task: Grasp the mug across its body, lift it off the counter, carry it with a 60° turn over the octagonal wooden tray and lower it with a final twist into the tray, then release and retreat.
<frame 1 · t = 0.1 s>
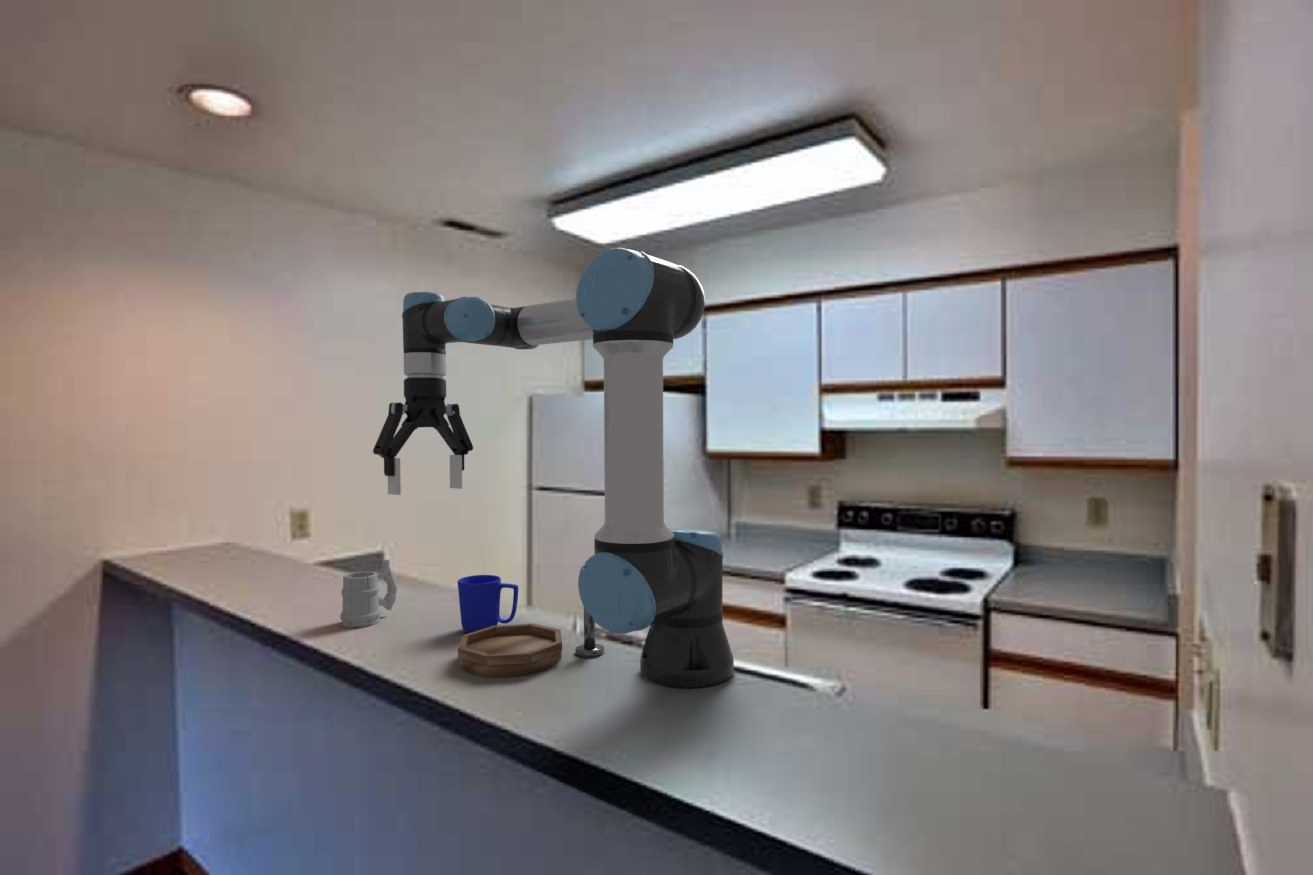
hand: (426, 491, 129), 28 cm above the countertop, fingers open, 13 cm apart
mug 2: (370, 621, 142), on the countertop
stand rod: (589, 652, 121), on the countertop
octagonal wooden tray: (511, 658, 118), on the countertop
mug: (489, 631, 135), on the countertop
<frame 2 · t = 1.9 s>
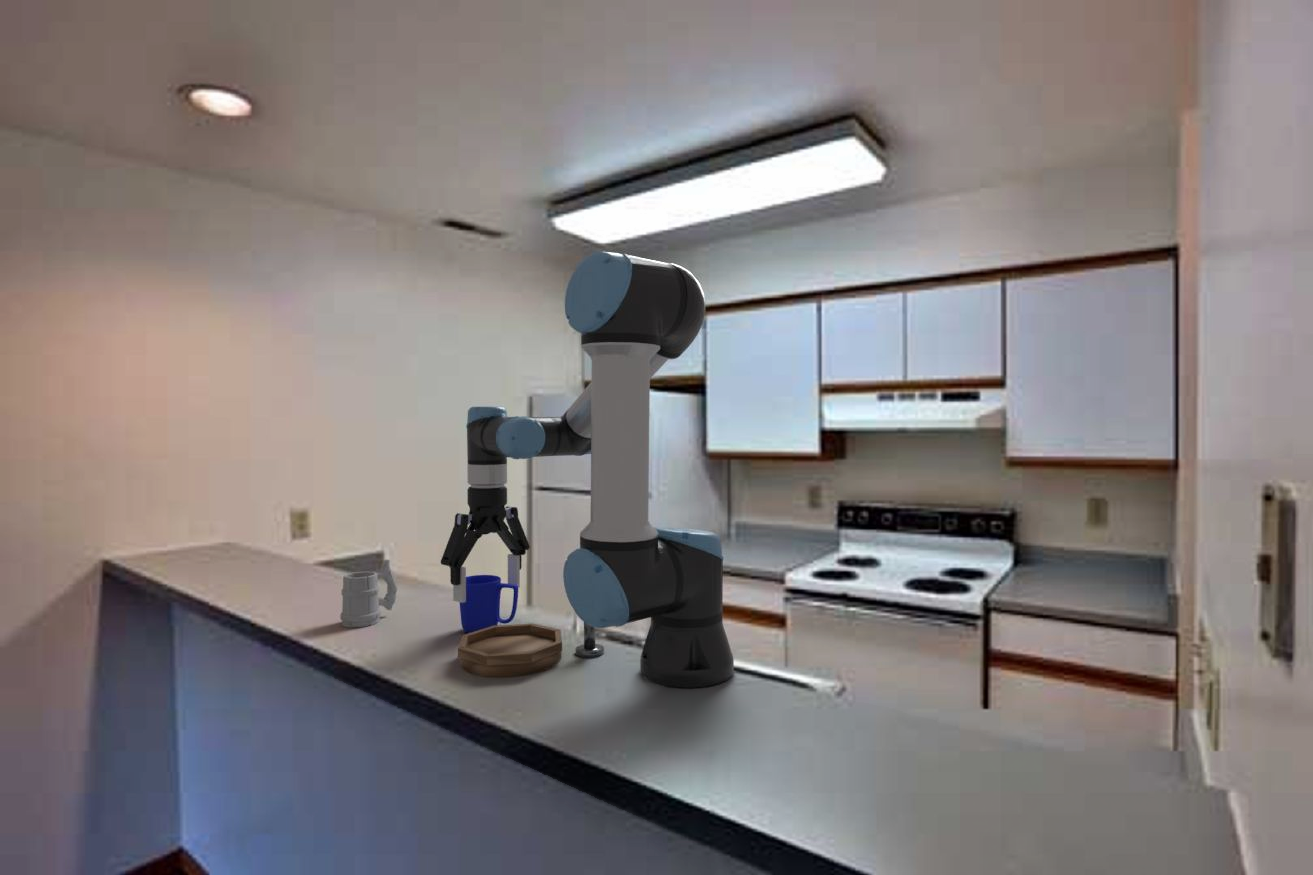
hand: (487, 593, 135), 7 cm above the countertop, fingers open, 13 cm apart
nothing on the countertop moved.
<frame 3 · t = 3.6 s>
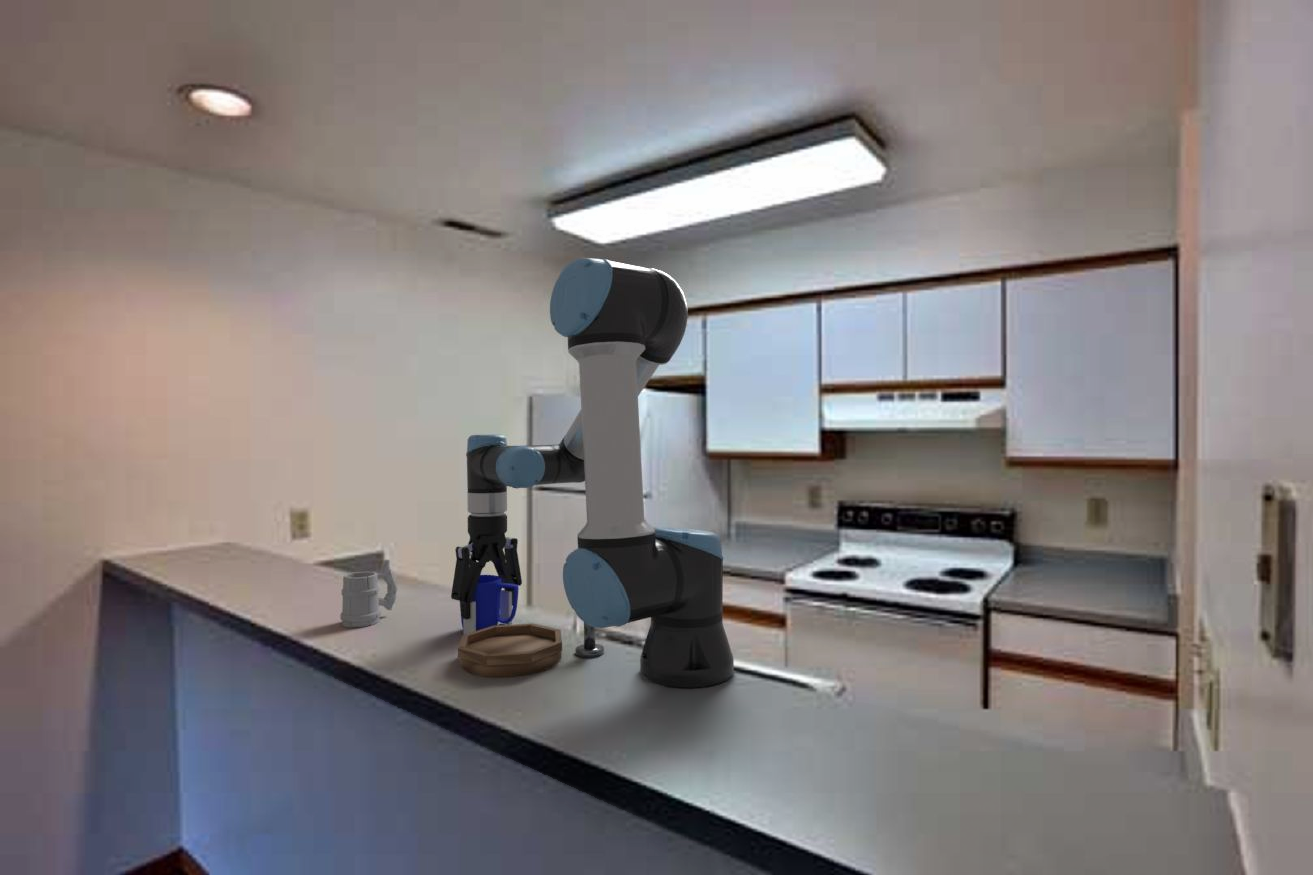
hand: (488, 628, 135), 0 cm above the countertop, fingers open, 8 cm apart
mug: (489, 631, 135), on the countertop, touching gripper
everything else where it was.
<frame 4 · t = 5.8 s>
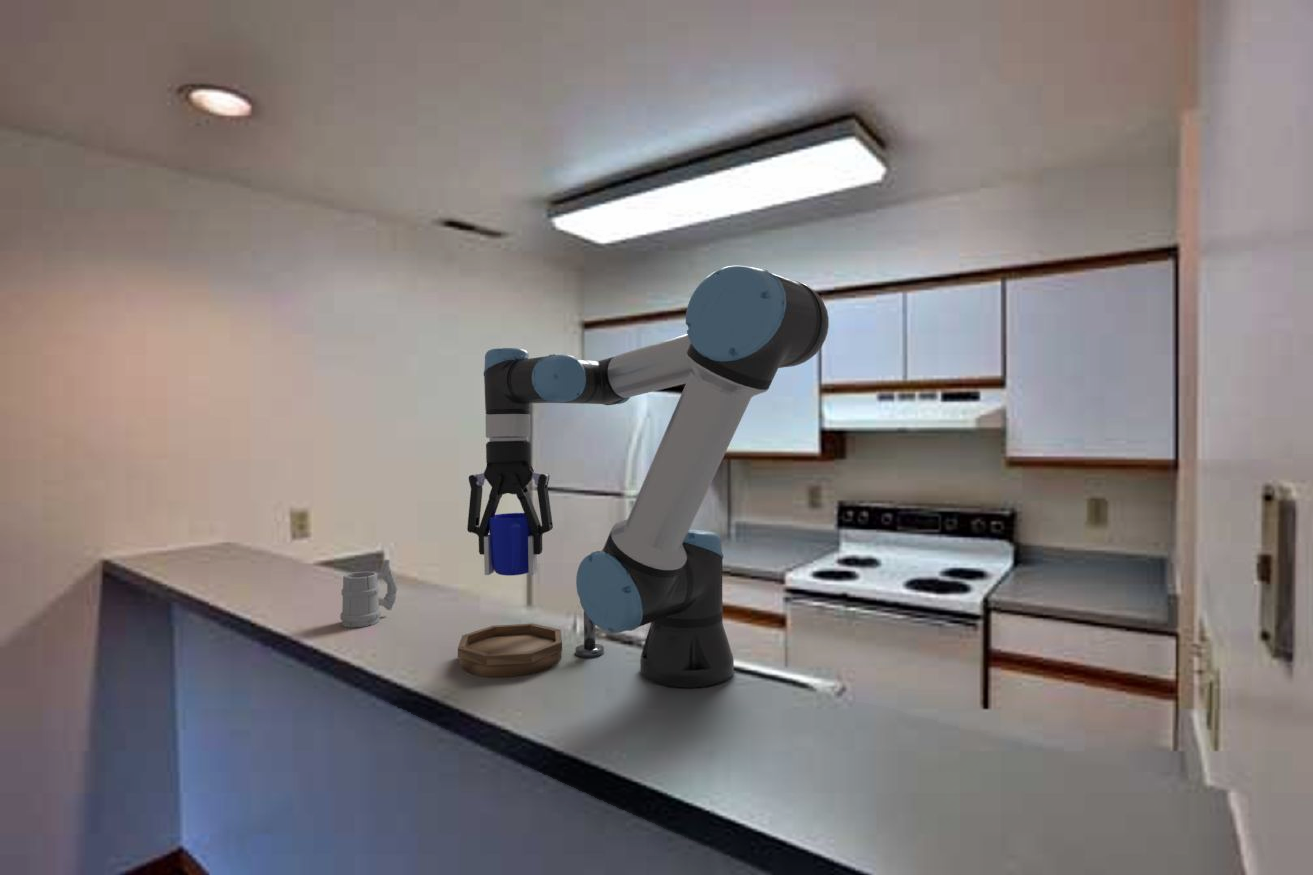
hand: (511, 573, 118), 15 cm above the countertop, fingers closed on mug, 7 cm apart
mug: (514, 576, 118), point 14 cm above the countertop, touching gripper
everything else where it was.
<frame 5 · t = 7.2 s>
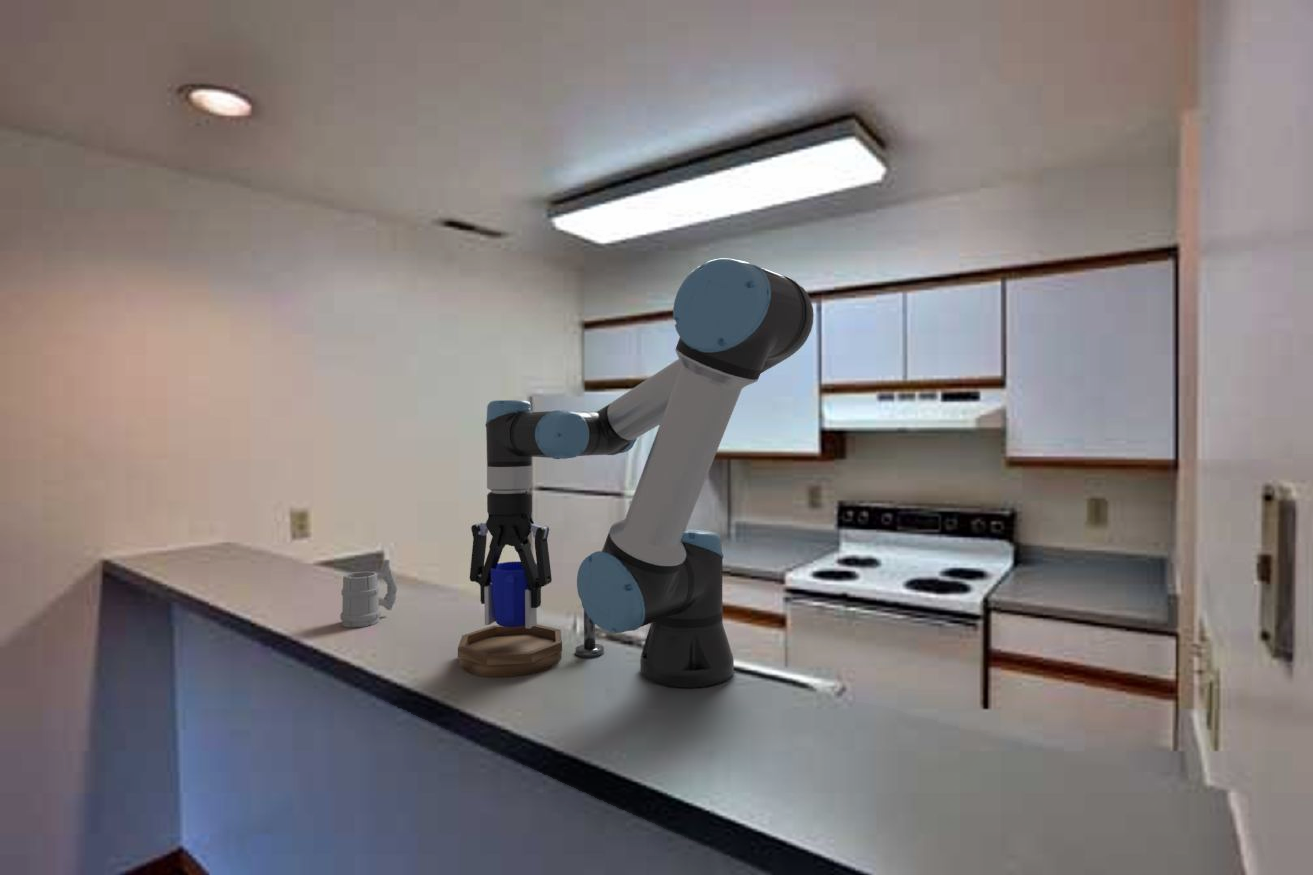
hand: (510, 624, 118), 6 cm above the countertop, fingers closed on mug, 7 cm apart
mug: (513, 627, 118), point 6 cm above the countertop, touching gripper
everything else where it was.
when the fingers open (4 cm above the countertop, at t = 8.0 s): mug drops 1 cm, resting on octagonal wooden tray.
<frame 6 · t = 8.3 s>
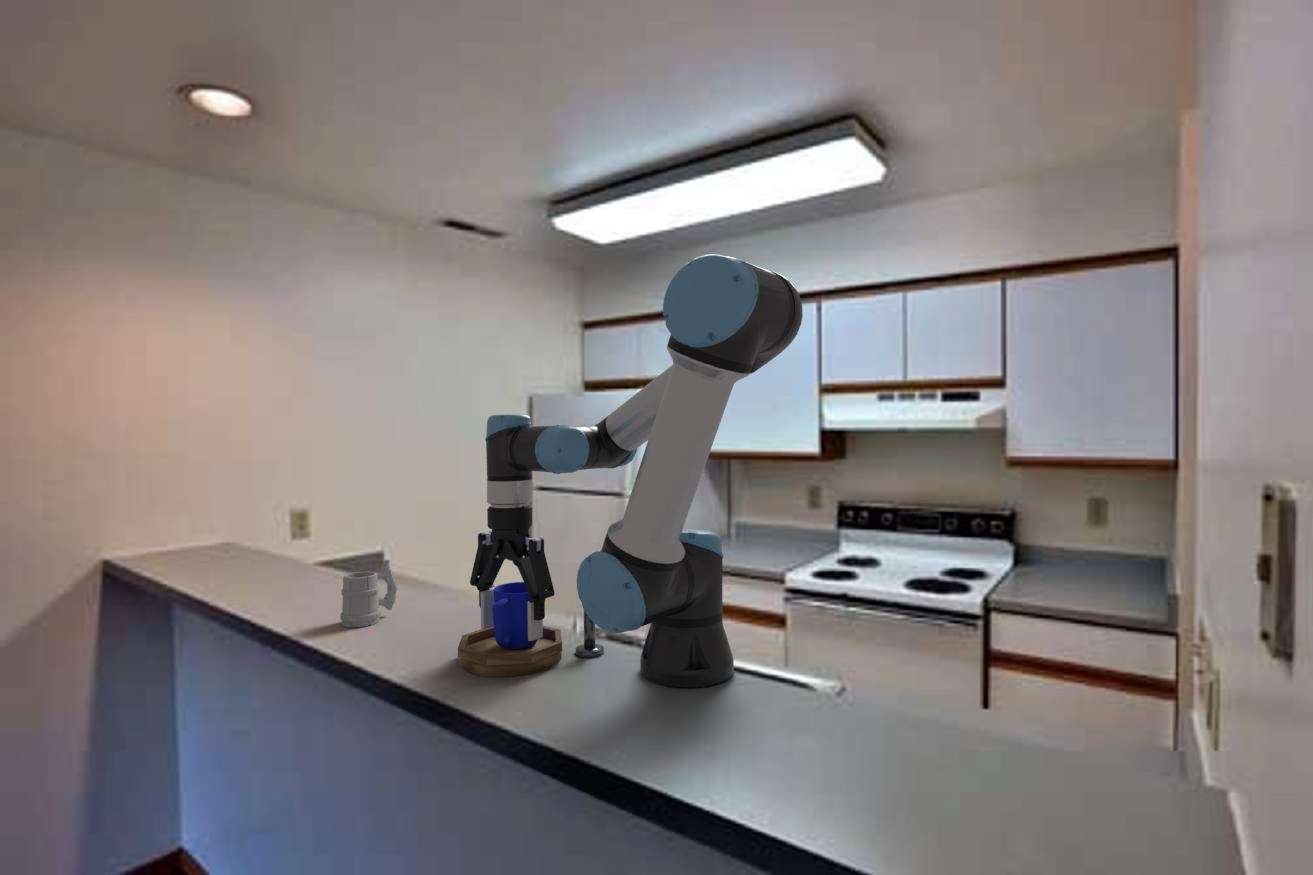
hand: (511, 632, 118), 4 cm above the countertop, fingers open, 11 cm apart
mug: (513, 649, 117), point 2 cm above the countertop, touching octagonal wooden tray
everything else where it was.
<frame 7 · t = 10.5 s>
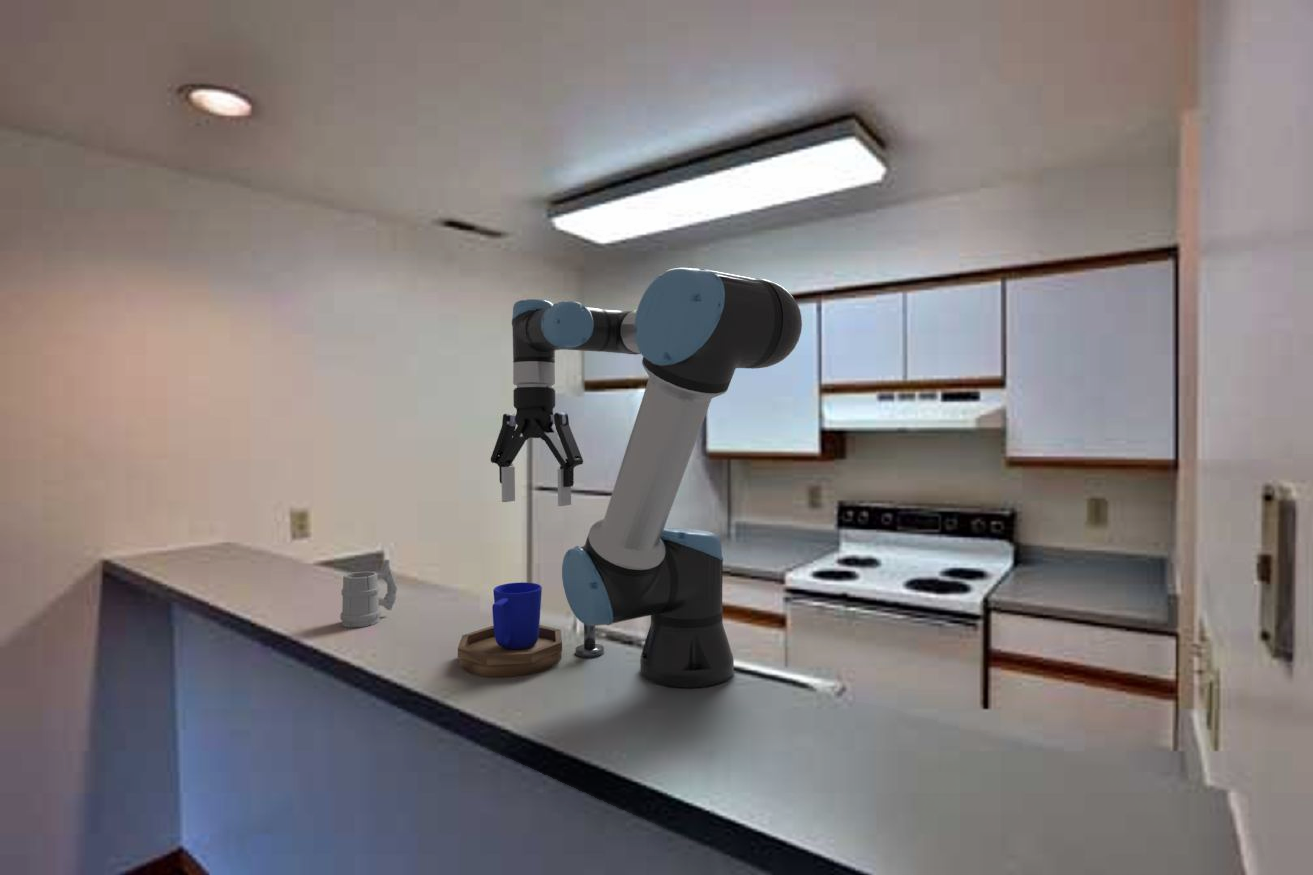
hand: (535, 503, 126), 26 cm above the countertop, fingers open, 13 cm apart
nothing on the countertop moved.
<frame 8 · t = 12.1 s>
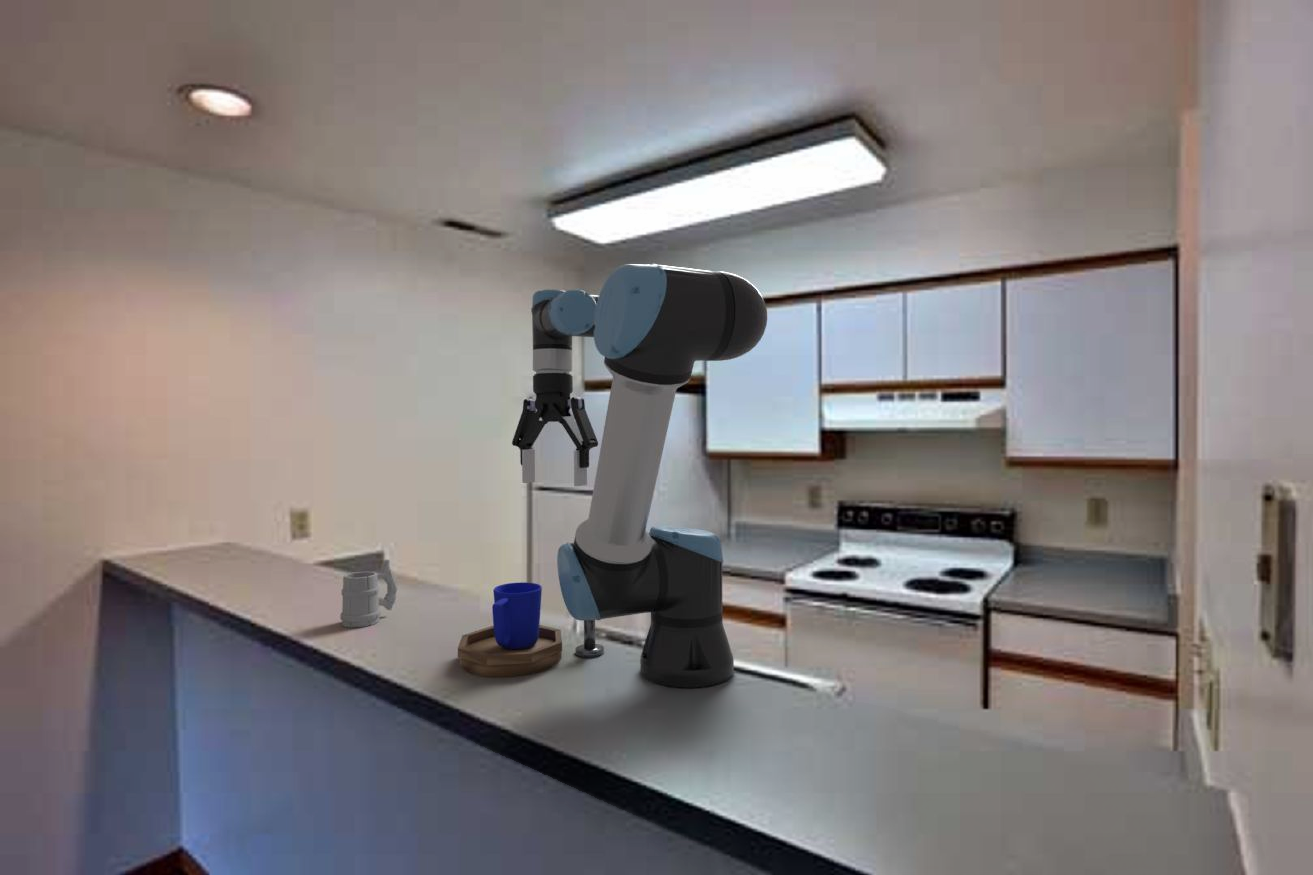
hand: (553, 484, 132), 29 cm above the countertop, fingers open, 13 cm apart
nothing on the countertop moved.
at the end: mug inside the target area on the octagonal wooden tray (0.9 cm from its centre), point 1.8 cm above the octagonal wooden tray's base; mug tilted 0°; the gripper is holding nothing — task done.
